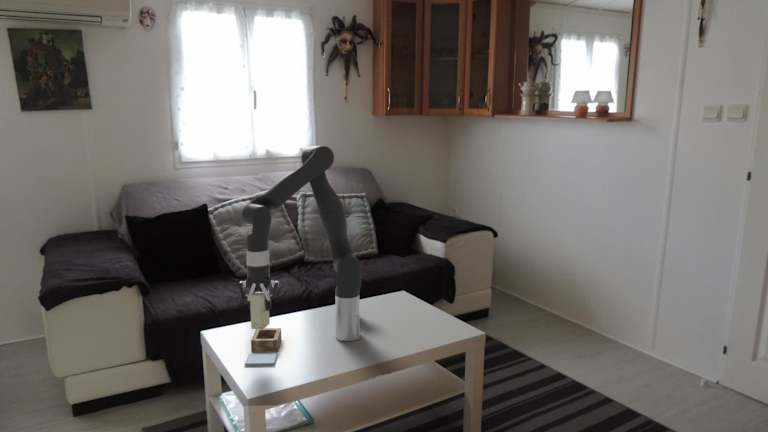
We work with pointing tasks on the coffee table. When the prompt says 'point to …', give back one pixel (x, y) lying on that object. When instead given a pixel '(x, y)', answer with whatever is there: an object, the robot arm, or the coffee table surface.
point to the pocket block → (266, 340)
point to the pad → (261, 359)
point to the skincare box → (259, 311)
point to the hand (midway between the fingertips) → (259, 310)
